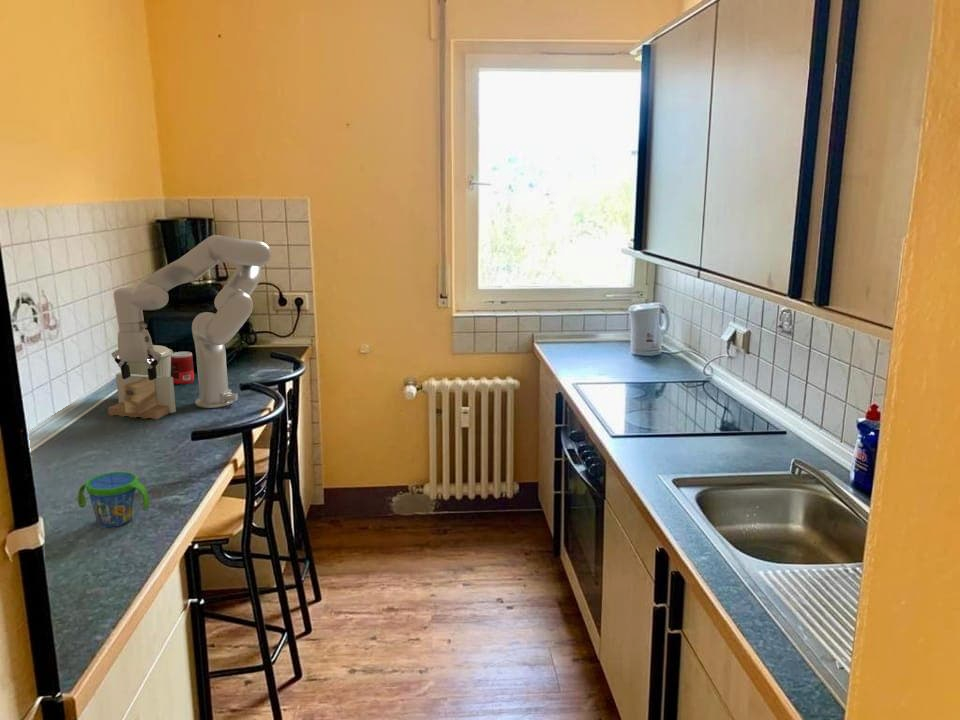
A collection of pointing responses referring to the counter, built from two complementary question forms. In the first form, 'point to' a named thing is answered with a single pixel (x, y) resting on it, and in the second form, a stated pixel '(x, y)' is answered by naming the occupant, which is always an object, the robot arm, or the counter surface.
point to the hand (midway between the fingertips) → (139, 378)
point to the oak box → (139, 395)
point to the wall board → (163, 397)
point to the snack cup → (113, 497)
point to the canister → (161, 368)
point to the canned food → (182, 367)
